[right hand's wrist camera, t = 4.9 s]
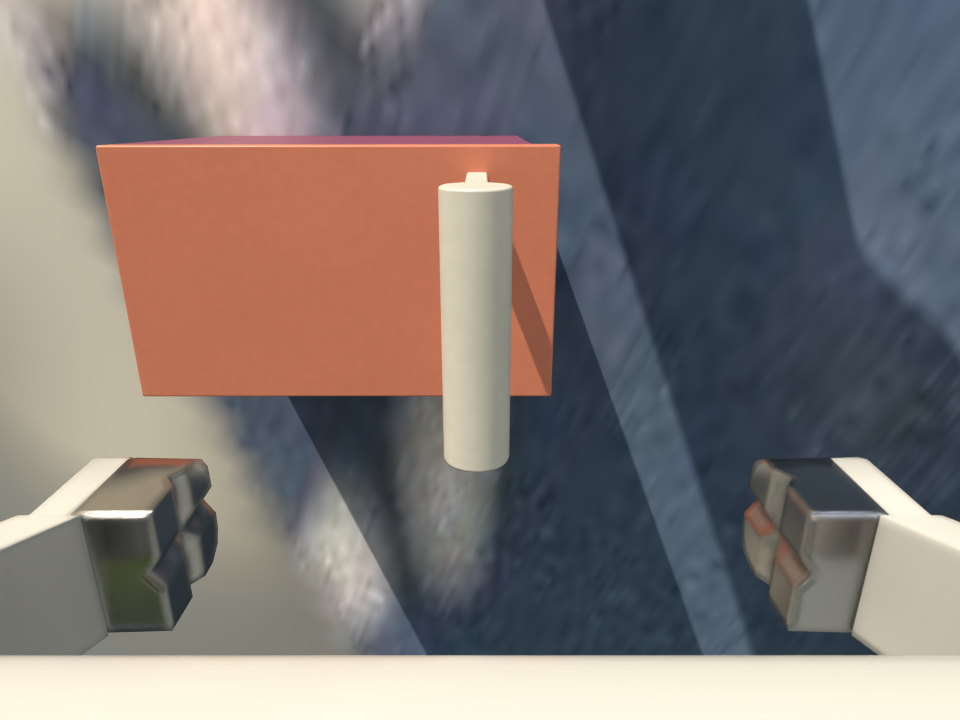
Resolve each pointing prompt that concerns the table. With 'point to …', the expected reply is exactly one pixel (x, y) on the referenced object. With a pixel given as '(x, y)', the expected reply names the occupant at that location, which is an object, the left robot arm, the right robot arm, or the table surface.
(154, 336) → the lid
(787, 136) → the table surface
